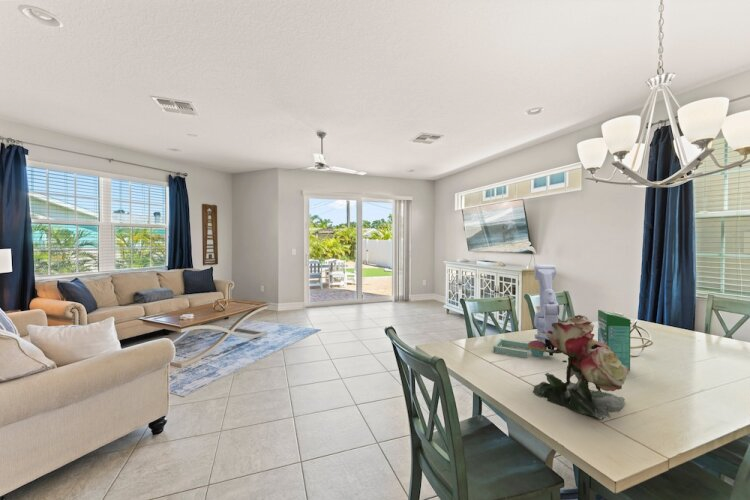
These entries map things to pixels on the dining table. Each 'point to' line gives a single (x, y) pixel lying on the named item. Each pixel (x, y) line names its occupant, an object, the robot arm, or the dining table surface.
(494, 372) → the dining table surface
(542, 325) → the robot arm
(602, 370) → the rose bouquet
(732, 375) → the dining table surface
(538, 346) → the cupcake
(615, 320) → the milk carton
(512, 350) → the mint green u shape
